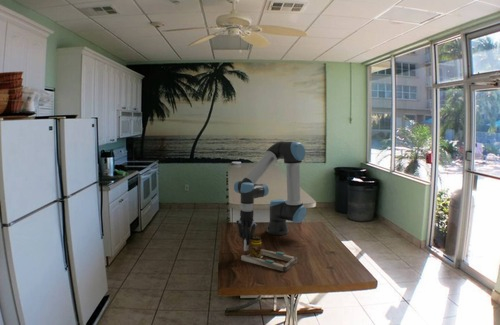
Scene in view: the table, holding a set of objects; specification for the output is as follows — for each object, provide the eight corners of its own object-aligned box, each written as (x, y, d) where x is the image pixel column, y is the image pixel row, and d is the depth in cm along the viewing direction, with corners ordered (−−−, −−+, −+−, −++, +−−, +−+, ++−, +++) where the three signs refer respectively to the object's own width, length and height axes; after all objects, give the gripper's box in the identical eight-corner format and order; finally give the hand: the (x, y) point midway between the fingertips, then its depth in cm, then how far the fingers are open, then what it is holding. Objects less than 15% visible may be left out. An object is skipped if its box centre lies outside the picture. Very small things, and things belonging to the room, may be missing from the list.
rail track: (254, 251, 189) (255, 246, 189) (297, 261, 176) (297, 256, 175) (241, 260, 176) (241, 254, 176) (285, 272, 163) (285, 265, 162)
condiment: (257, 261, 176) (258, 240, 174) (244, 257, 180) (245, 237, 178) (263, 256, 182) (264, 236, 181) (250, 253, 186) (251, 233, 185)
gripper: (233, 209, 181) (233, 249, 183) (253, 213, 174) (252, 254, 177) (240, 207, 187) (240, 245, 190) (260, 210, 181) (259, 250, 183)
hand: (246, 250), depth 183 cm, fingers closed
